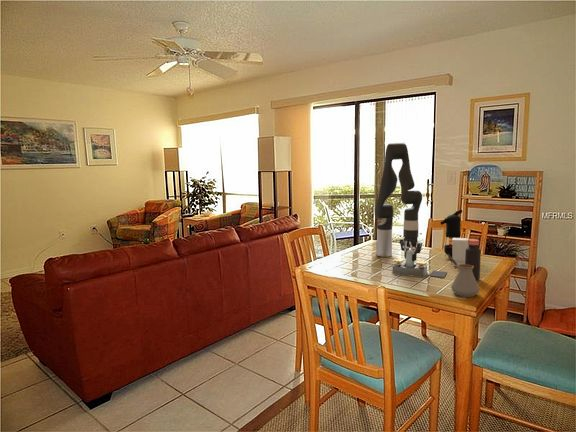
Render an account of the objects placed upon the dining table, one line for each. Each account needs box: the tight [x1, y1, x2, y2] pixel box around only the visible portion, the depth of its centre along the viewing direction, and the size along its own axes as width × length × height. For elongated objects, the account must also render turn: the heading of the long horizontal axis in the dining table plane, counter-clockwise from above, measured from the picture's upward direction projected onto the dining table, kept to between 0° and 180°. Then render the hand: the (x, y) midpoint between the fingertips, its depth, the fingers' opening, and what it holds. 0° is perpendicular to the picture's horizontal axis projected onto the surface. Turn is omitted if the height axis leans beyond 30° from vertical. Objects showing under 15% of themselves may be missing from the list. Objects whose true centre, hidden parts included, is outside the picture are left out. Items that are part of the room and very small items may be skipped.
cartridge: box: [405, 249, 415, 268], centre depth 200 cm, size 4×4×12 cm
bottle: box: [465, 238, 482, 282], centre depth 186 cm, size 7×7×20 cm
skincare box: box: [451, 237, 469, 268], centre depth 211 cm, size 8×7×16 cm
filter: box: [440, 209, 463, 257], centre depth 226 cm, size 14×9×30 cm
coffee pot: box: [444, 253, 480, 298], centre depth 171 cm, size 21×12×15 cm, turn 7°
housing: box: [391, 261, 428, 278], centre depth 201 cm, size 16×10×4 cm, turn 60°
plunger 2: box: [415, 260, 428, 268], centre depth 197 cm, size 4×4×5 cm
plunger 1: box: [393, 258, 405, 265], centre depth 203 cm, size 4×4×5 cm
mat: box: [429, 270, 448, 279], centre depth 196 cm, size 7×10×1 cm
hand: (410, 259), depth 200 cm, fingers closed on cartridge, 4 cm apart
